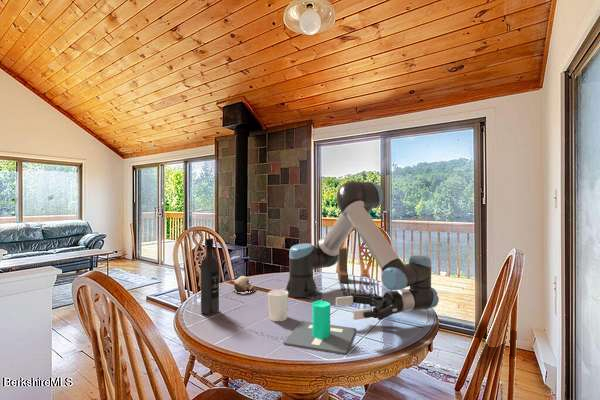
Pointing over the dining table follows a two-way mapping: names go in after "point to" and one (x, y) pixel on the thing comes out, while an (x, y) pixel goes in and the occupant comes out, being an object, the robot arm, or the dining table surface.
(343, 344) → the letter pad
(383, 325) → the dining table surface
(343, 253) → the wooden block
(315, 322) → the candle
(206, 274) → the black olive oil bottle
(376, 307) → the robot arm
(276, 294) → the white cup
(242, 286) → the skull
